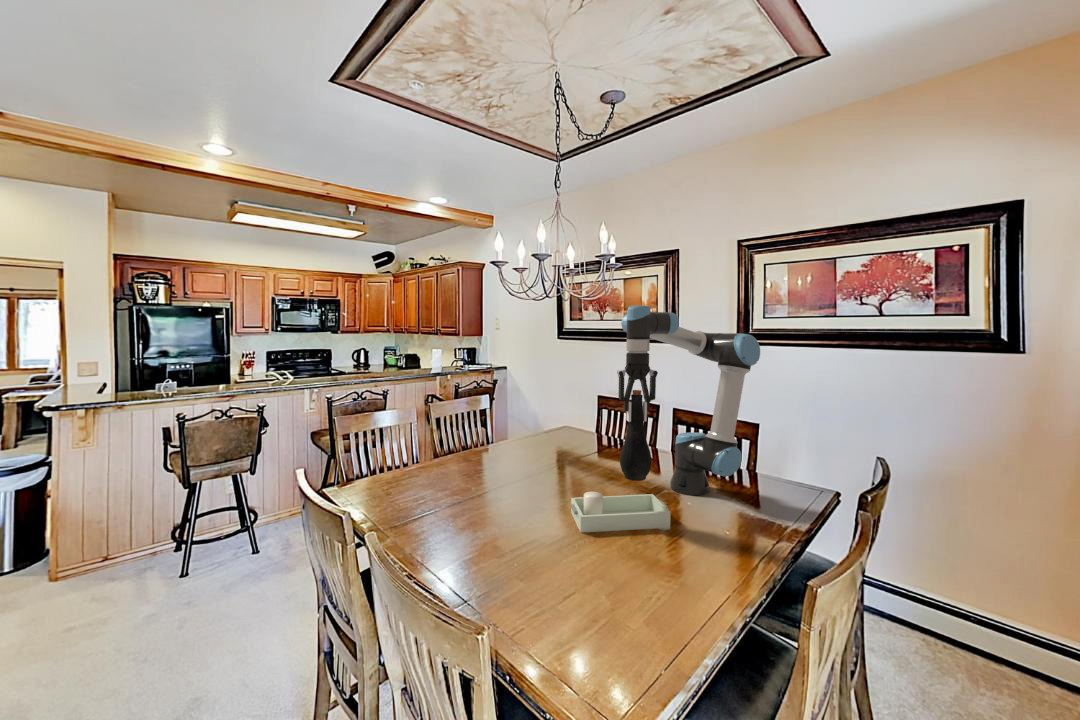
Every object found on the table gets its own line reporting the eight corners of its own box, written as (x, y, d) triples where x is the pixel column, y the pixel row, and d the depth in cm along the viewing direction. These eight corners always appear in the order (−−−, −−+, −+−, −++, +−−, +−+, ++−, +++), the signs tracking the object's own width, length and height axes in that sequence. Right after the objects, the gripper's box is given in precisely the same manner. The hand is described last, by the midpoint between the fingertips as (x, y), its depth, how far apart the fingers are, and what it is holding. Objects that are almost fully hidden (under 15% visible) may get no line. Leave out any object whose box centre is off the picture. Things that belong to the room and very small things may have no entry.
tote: (655, 510, 166) (655, 494, 165) (673, 529, 150) (673, 512, 149) (568, 514, 162) (568, 498, 161) (577, 535, 146) (577, 516, 146)
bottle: (651, 483, 150) (653, 393, 147) (618, 481, 152) (620, 392, 150) (650, 473, 160) (652, 388, 158) (620, 471, 162) (621, 387, 160)
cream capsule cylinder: (599, 516, 158) (600, 491, 158) (604, 524, 152) (604, 498, 151) (581, 517, 158) (581, 492, 157) (585, 525, 151) (586, 499, 151)
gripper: (659, 351, 157) (657, 418, 159) (609, 351, 155) (608, 418, 157) (667, 352, 150) (665, 422, 152) (615, 352, 148) (613, 423, 150)
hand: (636, 420), depth 154 cm, fingers closed on bottle, 5 cm apart
